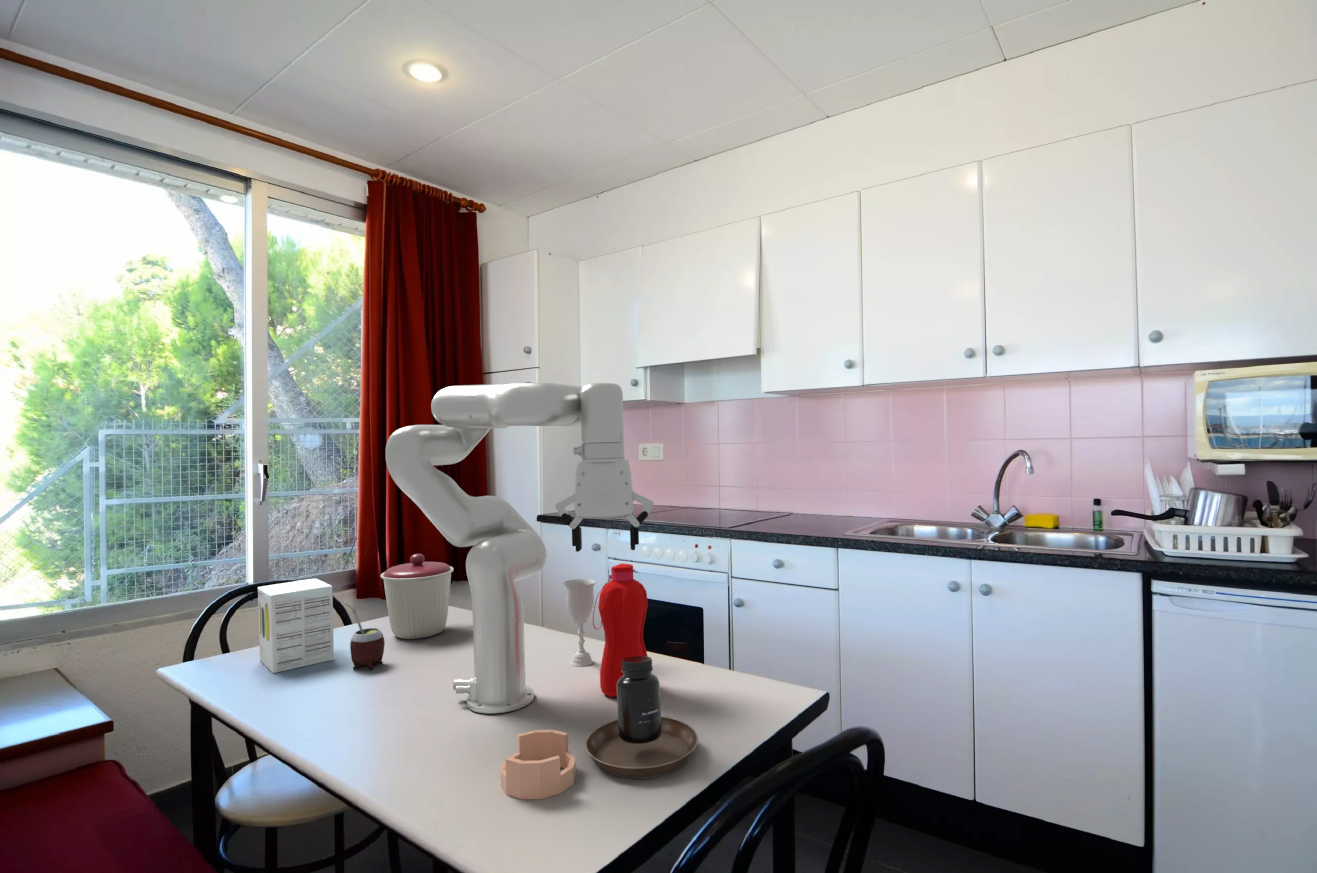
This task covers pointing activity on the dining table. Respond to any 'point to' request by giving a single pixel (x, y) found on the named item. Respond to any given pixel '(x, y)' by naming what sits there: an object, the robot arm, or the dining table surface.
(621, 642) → the water bottle
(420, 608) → the canister
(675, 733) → the plant saucer
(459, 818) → the dining table surface
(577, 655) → the chalice
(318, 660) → the supplement box
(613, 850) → the dining table surface
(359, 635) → the mate gourd
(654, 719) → the supplement bottle
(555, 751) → the holder cup
